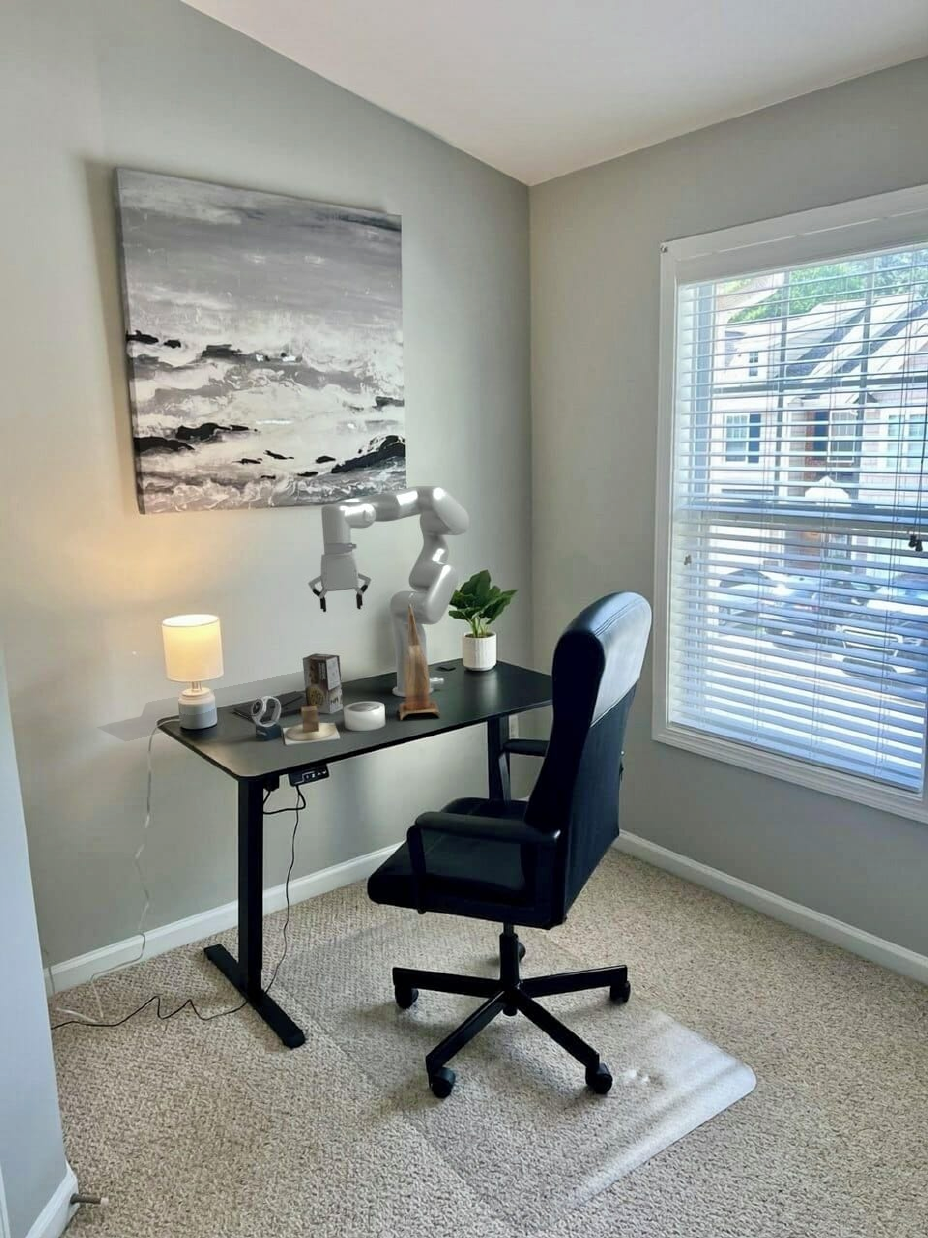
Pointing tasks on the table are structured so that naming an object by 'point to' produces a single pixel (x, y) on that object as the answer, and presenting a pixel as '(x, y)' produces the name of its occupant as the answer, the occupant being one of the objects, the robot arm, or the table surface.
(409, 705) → the tan tower model
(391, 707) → the table surface
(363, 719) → the bowl
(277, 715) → the watch
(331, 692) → the coffee box
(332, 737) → the mat
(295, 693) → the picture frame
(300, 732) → the lid
